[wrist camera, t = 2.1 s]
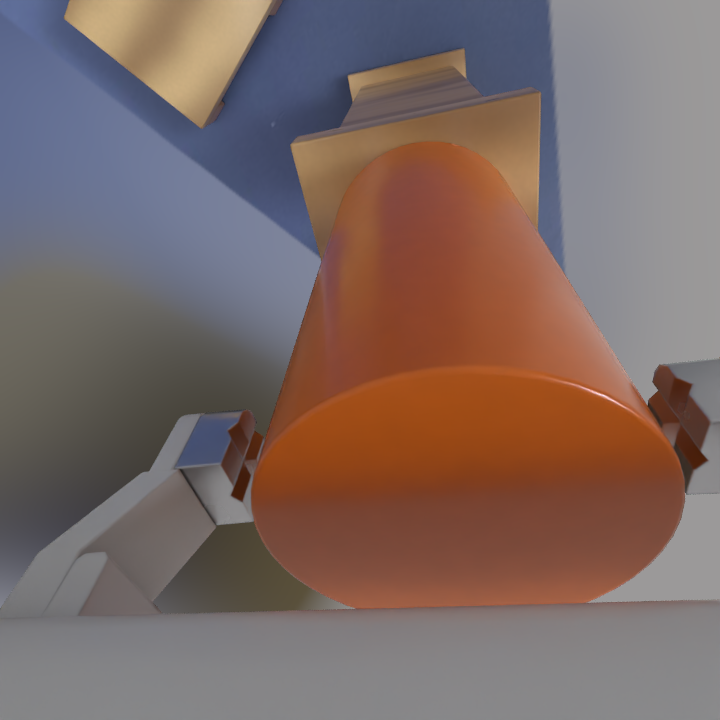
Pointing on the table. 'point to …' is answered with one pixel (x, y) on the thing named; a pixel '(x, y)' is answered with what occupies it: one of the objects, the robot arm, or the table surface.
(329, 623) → the robot arm
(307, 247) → the table surface
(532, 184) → the tall stand
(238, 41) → the low stand
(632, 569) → the orange cylinder
